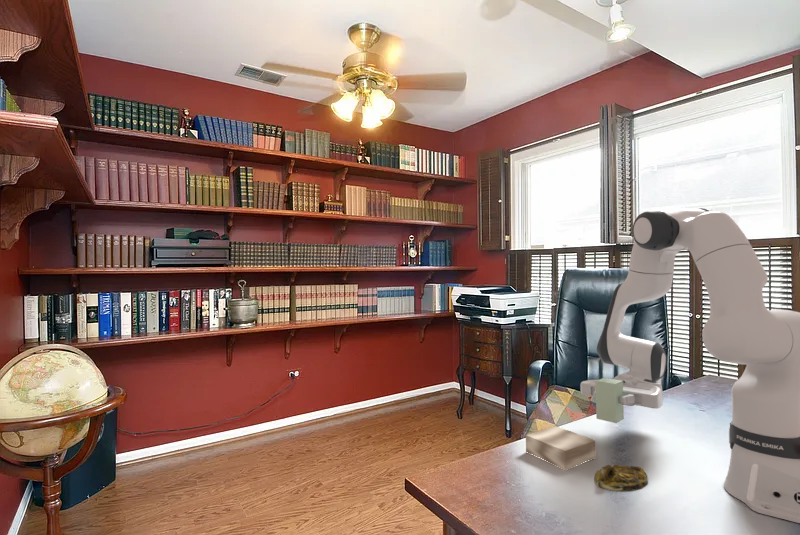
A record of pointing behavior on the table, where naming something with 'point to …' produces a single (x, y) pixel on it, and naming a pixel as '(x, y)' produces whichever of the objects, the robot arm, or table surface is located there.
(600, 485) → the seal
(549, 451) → the plinth
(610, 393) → the green block
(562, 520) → the table surface
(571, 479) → the table surface
